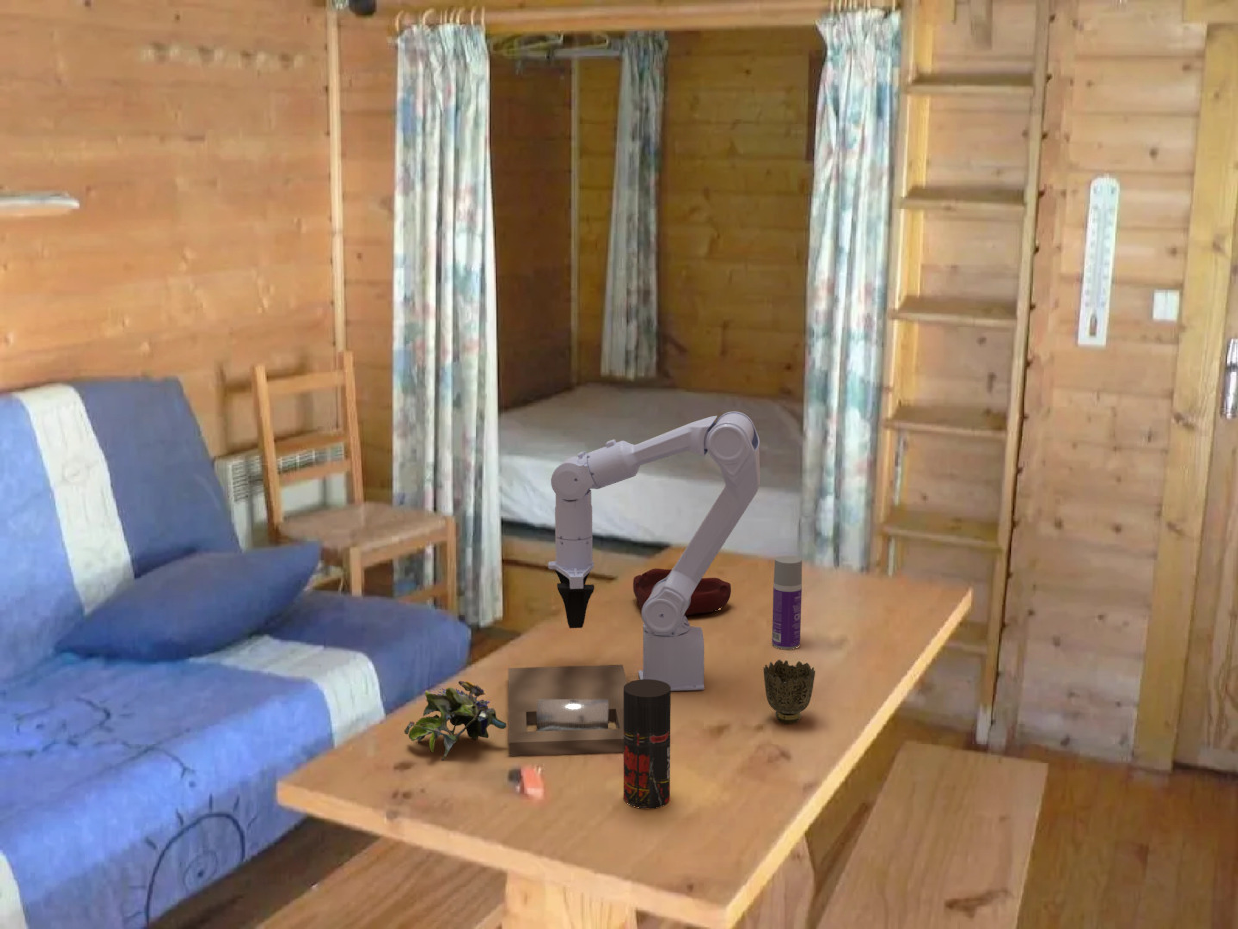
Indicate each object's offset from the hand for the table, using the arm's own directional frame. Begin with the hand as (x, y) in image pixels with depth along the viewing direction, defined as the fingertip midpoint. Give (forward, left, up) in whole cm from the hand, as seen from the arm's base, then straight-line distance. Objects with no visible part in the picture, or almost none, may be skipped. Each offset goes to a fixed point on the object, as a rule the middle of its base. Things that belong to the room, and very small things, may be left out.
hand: (574, 619), depth 214 cm
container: (-36, -11, -10) cm, 39 cm away
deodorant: (-7, +43, -10) cm, 45 cm away
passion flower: (+18, +26, -10) cm, 33 cm away
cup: (-30, +20, -10) cm, 37 cm away
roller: (+1, +22, -7) cm, 23 cm away
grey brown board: (+2, +15, -9) cm, 18 cm away
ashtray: (-19, -31, -10) cm, 38 cm away
